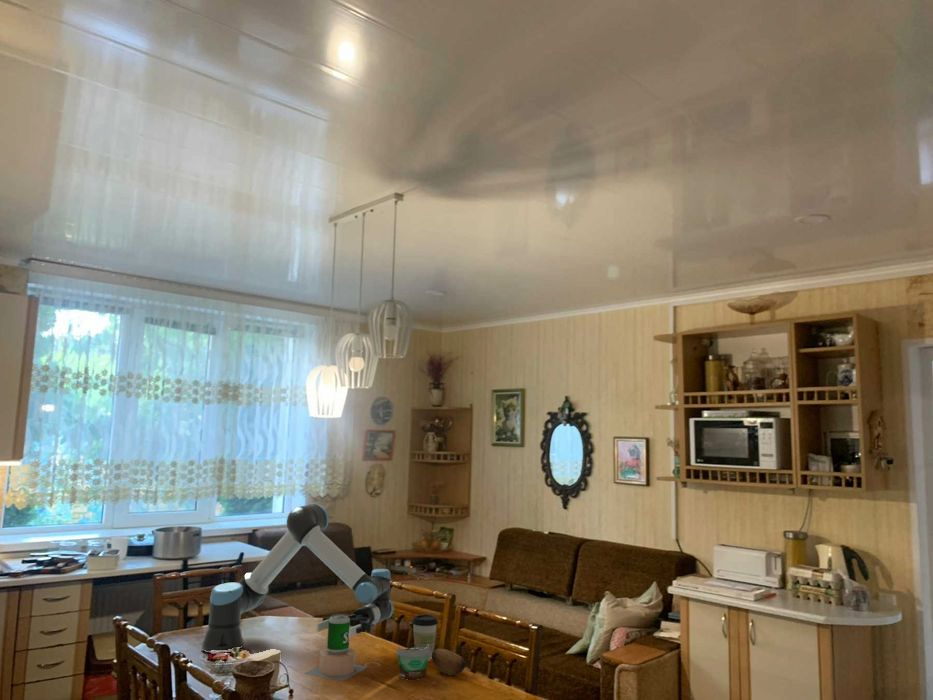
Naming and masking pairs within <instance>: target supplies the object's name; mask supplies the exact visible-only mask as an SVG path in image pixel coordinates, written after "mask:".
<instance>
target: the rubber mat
mask: <svg viewBox="0 0 933 700" xmlns="http://www.w3.org/2000/svg"><path fill="white" fill-rule="evenodd" d="M367 668H369V666H366V665H359V664H356V663H354V671H353V672H352V673H350V674H347V675H342V676H328V675H323V674H321V673H320V672H319V665H318V666H315V667H314V668H312V669H310V670H308V671H305V672H304V673H303V674H305V675H311V676H316V677H321V678H325V679H331V680H334V681H335V680H336V681H339V682H340V681H341V682H343V681H346V680H348V679H349V678H351V677H353V676H355V675H357V674H359V673H360V672H362V671H363V670H364V671H365V670H366V669H367Z"/></svg>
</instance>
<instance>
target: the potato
mask: <svg viewBox="0 0 933 700" xmlns="http://www.w3.org/2000/svg"><path fill="white" fill-rule="evenodd" d="M431 661H432V662H433V664H434V666H435V667H436V668H437V669H438V670H439V671H441V672H442V674H445V675H449V674H450V675H449V676H453V675H454V674H455V675H458V674H460V673H462V672H463V671H464V670H465V668H466V660H465V659H464V658H463V657H462V656H460V655H459V654H457V653H455V652H453V651H451V650H448V649H444V648H441V647H439V648H434V650H433V652H432V660H431ZM455 675H454V676H455Z"/></svg>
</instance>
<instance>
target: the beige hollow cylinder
mask: <svg viewBox="0 0 933 700" xmlns="http://www.w3.org/2000/svg"><path fill="white" fill-rule="evenodd" d="M355 656H356V650H355V649H353V648H352V647H349V649H348V650H347V651H346V653H344V654H331V653H329V651H328V650H327V647H326V648H324V649H321V650H320V652H319V658H318V659H319V663H318V666H319V672H320V673H321V674H323V675H328V676H342V675H347V674H350V673H352V672H353V671H354V664H356V663H355V660H356V659H355V658H356V657H355Z"/></svg>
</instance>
